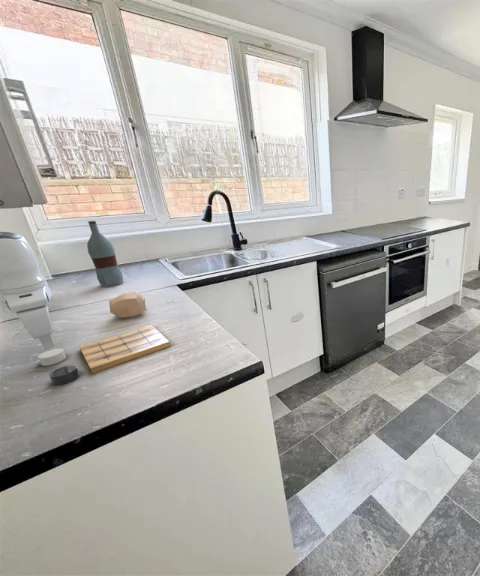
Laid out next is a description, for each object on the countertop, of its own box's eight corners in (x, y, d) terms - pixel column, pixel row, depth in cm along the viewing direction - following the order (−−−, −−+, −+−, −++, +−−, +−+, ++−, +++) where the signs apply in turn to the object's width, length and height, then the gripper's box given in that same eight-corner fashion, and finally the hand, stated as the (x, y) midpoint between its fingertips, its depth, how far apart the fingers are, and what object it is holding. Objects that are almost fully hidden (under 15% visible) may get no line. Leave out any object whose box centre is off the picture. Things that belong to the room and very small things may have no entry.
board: (80, 350, 91) (78, 345, 91) (152, 328, 104) (151, 324, 104) (92, 373, 80) (90, 368, 80) (170, 345, 93) (169, 341, 93)
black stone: (46, 384, 76) (42, 376, 75) (66, 372, 81) (63, 365, 80) (66, 385, 76) (62, 377, 75) (85, 373, 81) (82, 365, 80)
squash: (113, 325, 107) (99, 302, 104) (119, 313, 123) (108, 293, 120) (149, 313, 112) (137, 290, 109) (151, 302, 128) (140, 283, 125)
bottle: (111, 280, 153) (91, 219, 143) (129, 280, 153) (110, 219, 143) (94, 287, 145) (71, 222, 134) (113, 287, 144) (91, 222, 134)
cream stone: (35, 365, 84) (32, 358, 83) (54, 355, 89) (51, 348, 88) (53, 365, 84) (49, 358, 83) (71, 355, 89) (68, 348, 88)
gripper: (6, 289, 84) (28, 334, 89) (8, 308, 71) (33, 359, 76) (40, 283, 88) (58, 326, 93) (47, 300, 76) (68, 348, 81)
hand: (47, 341), depth 85 cm, fingers open, 8 cm apart
